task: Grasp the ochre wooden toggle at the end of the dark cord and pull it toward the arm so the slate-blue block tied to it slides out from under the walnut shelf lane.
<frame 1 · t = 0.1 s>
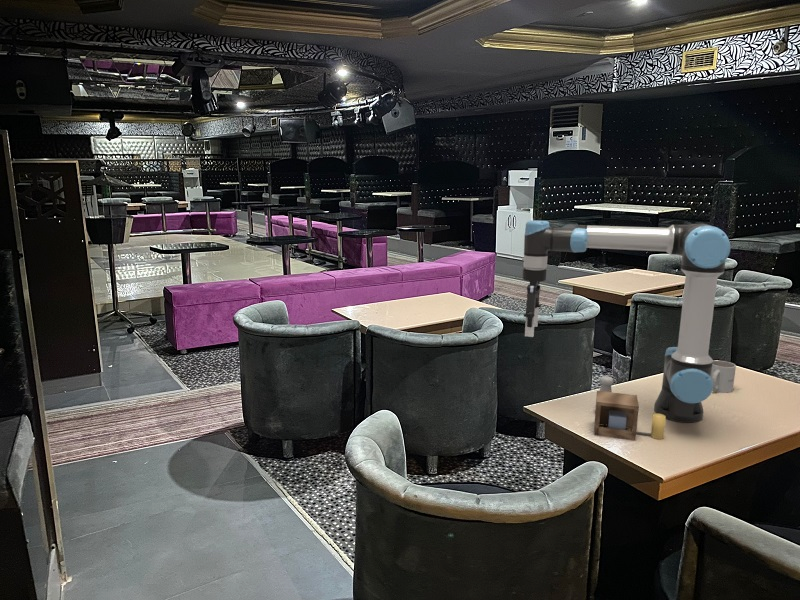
hand: (531, 331, 198), 28 cm above the table, fingers open, 13 cm apart
tethered block: (615, 431, 187), on the table
mug: (716, 390, 224), on the table
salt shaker: (603, 414, 201), on the table
shelf lane: (614, 431, 187), on the table
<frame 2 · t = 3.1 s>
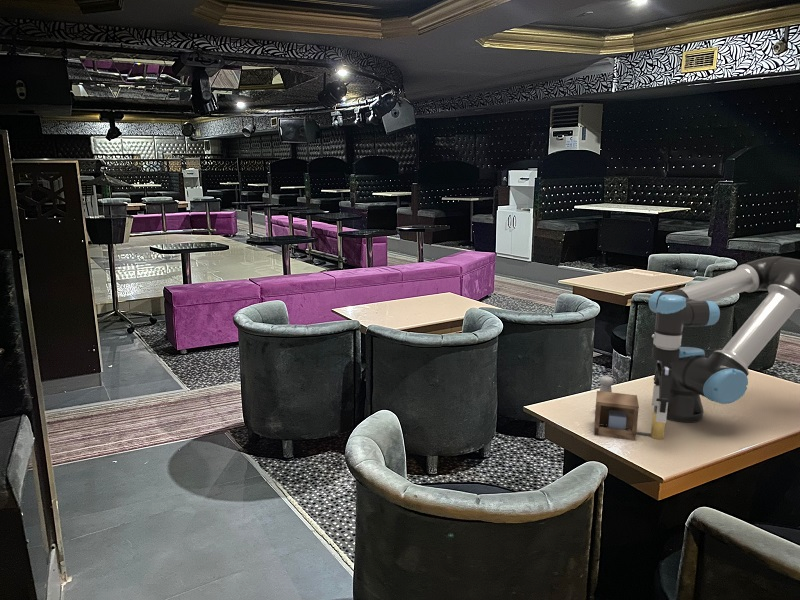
hand: (658, 413, 181), 8 cm above the table, fingers open, 13 cm apart
nothing on the table moved.
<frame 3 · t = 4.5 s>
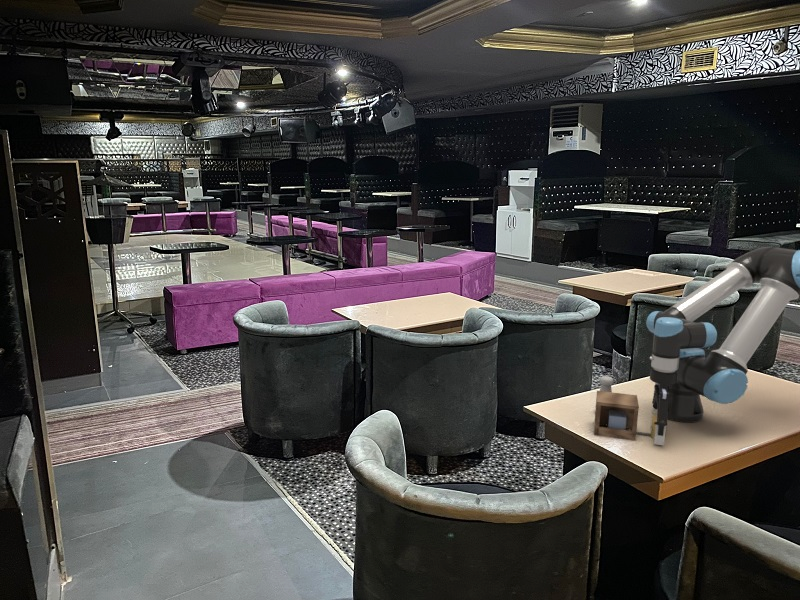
hand: (656, 436, 183), 0 cm above the table, fingers open, 11 cm apart
nothing on the table moved.
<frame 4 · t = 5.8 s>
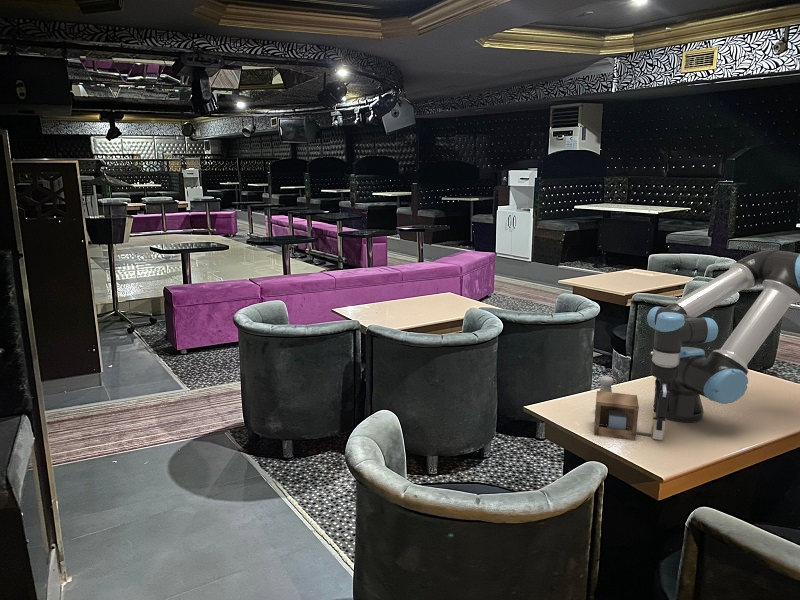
hand: (656, 435, 183), 0 cm above the table, fingers closed on tethered block, 3 cm apart
tethered block: (616, 431, 187), on the table, touching gripper
everything else where it was.
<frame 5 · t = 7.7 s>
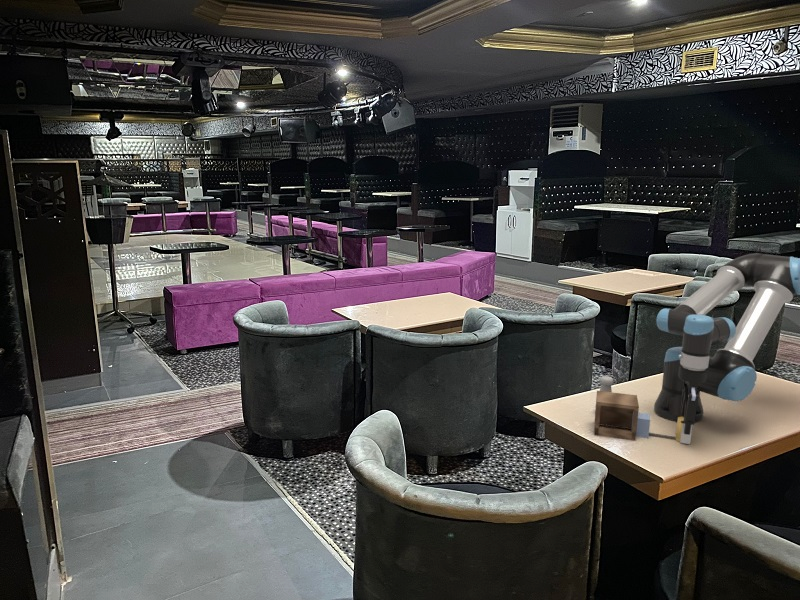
hand: (684, 440, 181), 0 cm above the table, fingers closed on tethered block, 4 cm apart
tethered block: (639, 433, 185), on the table, touching gripper
everything else where it was.
when the fingers open (0 cm above the table, at t = 9.4 s): tethered block stays where it is, on the table.
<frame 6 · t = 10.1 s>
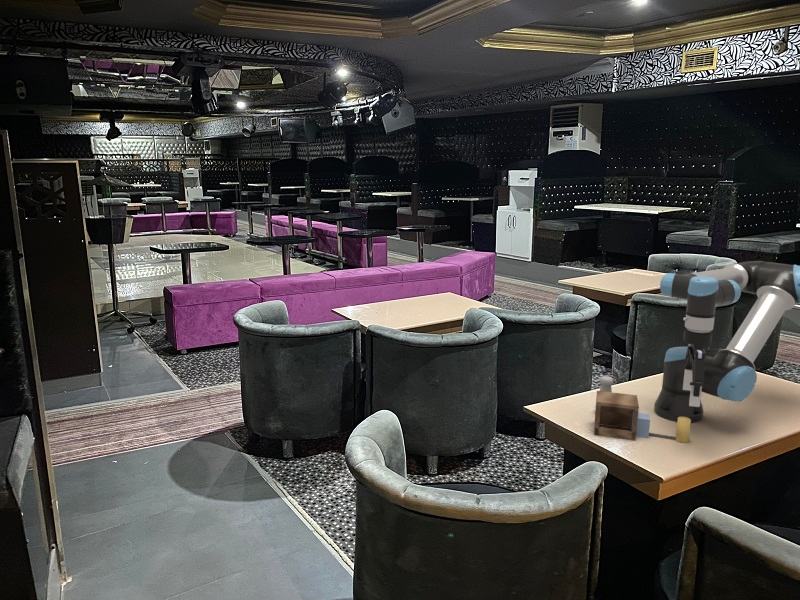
hand: (690, 397, 178), 14 cm above the table, fingers open, 13 cm apart
tethered block: (639, 433, 185), on the table
everything else where it was.
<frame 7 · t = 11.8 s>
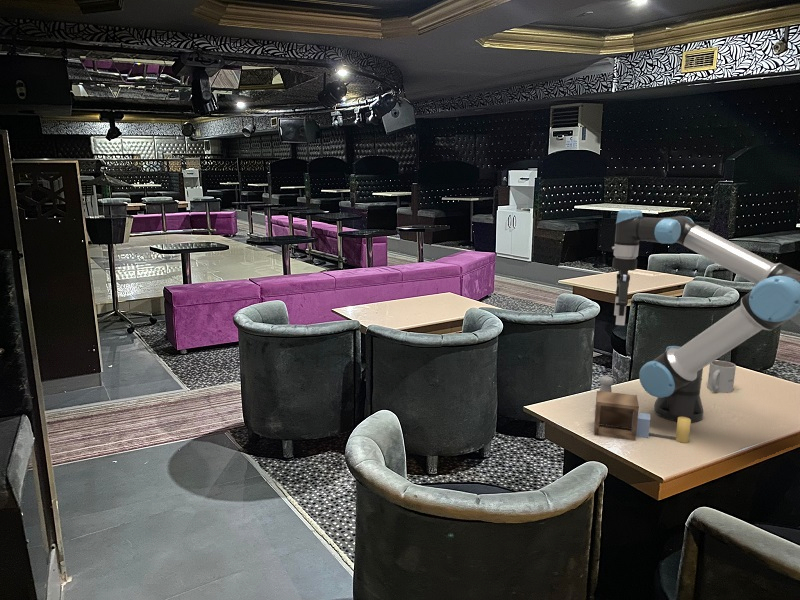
hand: (619, 320, 199), 32 cm above the table, fingers open, 13 cm apart
nothing on the table moved.
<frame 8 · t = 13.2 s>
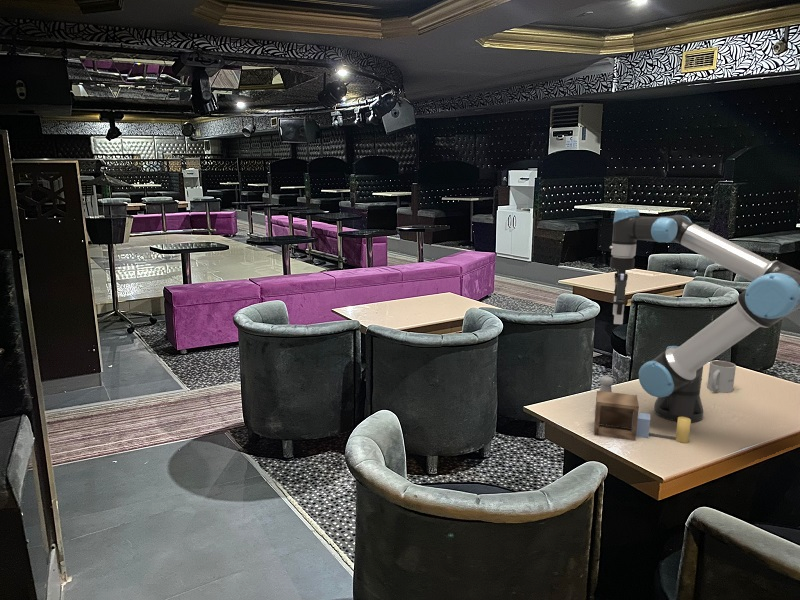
hand: (617, 319, 199), 32 cm above the table, fingers open, 13 cm apart
nothing on the table moved.
at the end: tethered block inside the target area (5.0 cm from its centre), on the table; tethered block moved 7.1 cm from its start; the gripper is holding nothing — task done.
